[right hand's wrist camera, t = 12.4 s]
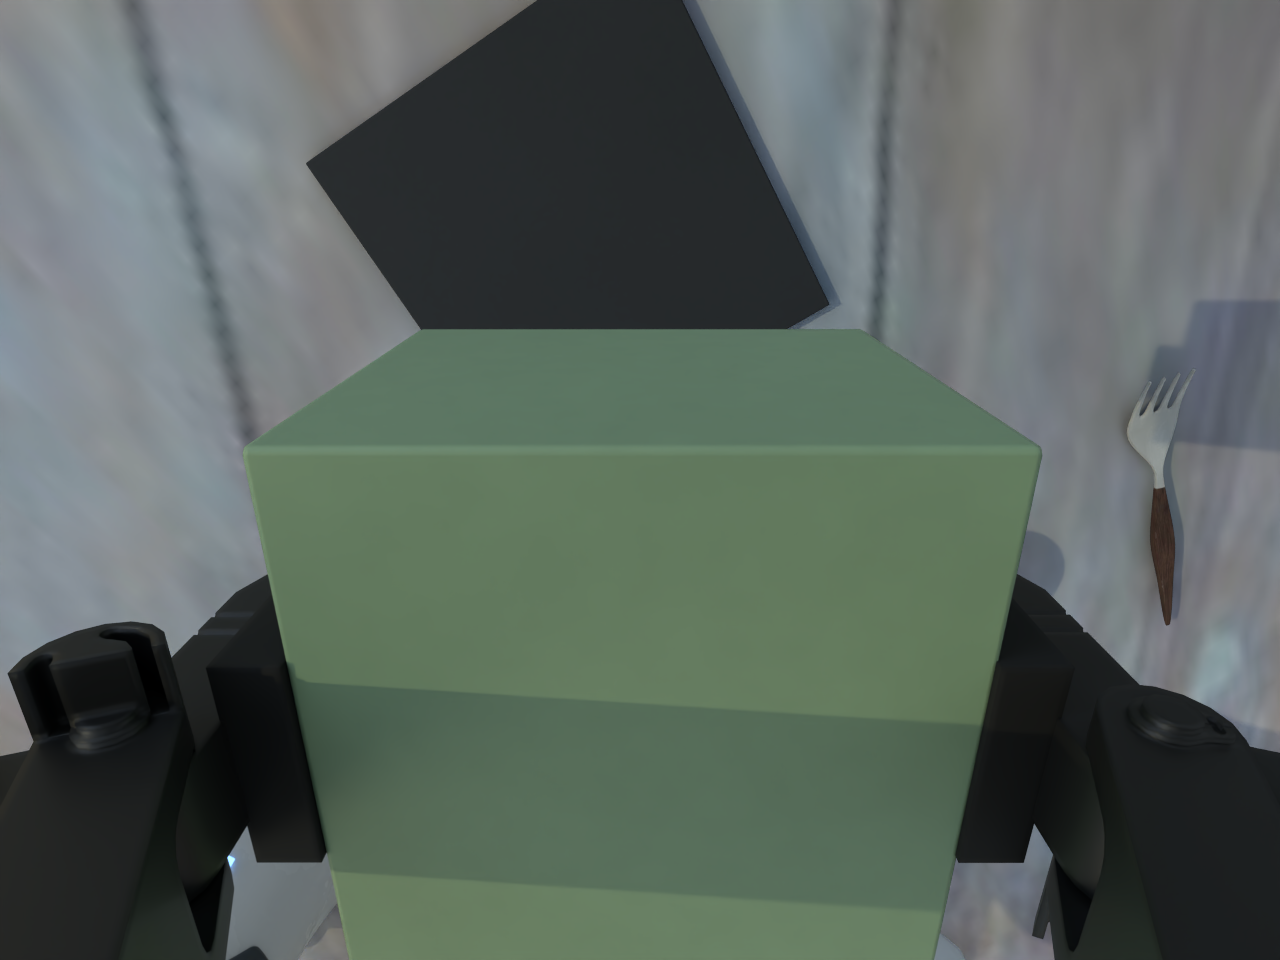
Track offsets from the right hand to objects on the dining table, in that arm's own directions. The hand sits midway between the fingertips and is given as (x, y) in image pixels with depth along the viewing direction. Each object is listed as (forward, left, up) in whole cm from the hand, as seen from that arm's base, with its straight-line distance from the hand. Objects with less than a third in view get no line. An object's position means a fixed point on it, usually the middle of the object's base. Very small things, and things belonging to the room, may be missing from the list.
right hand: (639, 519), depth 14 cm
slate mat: (0, -5, -25) cm, 25 cm away
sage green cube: (0, 0, 0) cm, 0 cm away
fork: (-20, +23, -25) cm, 39 cm away
